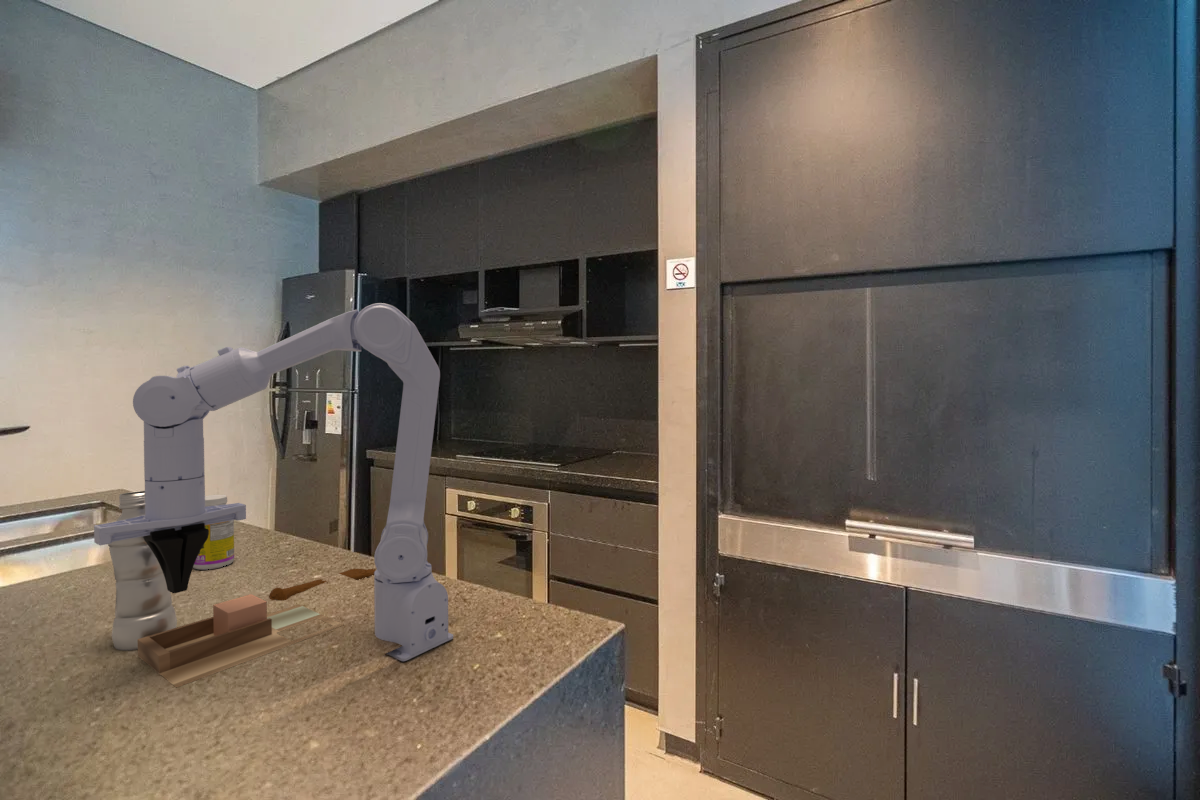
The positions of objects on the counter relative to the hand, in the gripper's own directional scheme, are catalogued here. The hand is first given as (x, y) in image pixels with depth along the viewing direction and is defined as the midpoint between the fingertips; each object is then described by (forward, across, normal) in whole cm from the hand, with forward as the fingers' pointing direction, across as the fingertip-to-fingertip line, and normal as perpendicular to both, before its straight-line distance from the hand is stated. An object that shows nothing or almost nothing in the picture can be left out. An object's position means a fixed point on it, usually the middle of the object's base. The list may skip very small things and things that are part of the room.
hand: (177, 590), depth 67 cm
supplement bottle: (+10, -18, -39) cm, 44 cm away
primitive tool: (+10, -24, -11) cm, 28 cm away
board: (+9, -6, +2) cm, 12 cm away
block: (+8, -7, 0) cm, 10 cm away
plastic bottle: (+9, +1, -8) cm, 12 cm away
